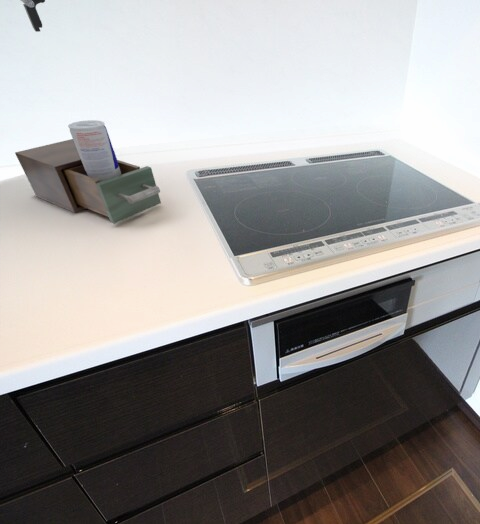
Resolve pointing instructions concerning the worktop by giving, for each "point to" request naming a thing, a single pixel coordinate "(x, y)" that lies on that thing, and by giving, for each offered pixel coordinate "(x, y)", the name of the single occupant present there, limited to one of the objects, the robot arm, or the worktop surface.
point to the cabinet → (52, 172)
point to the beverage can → (95, 149)
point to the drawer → (115, 191)
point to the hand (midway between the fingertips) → (7, 31)
